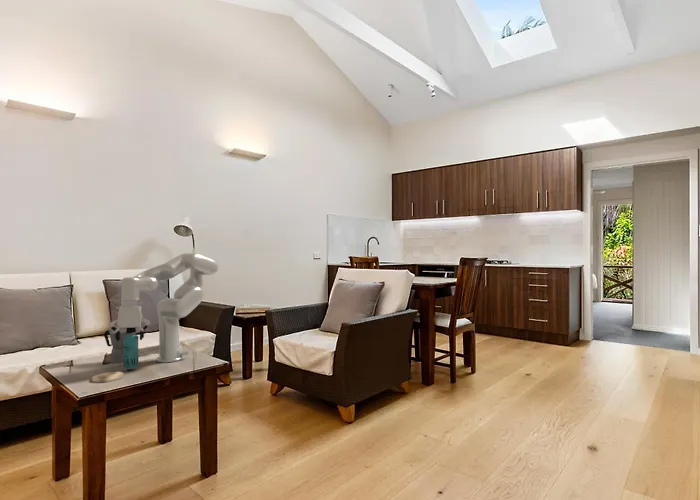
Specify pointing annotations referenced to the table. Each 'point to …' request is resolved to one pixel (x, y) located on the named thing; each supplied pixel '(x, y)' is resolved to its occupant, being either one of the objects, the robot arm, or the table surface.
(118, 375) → the disc
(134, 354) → the beverage bottle
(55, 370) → the table surface
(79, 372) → the table surface
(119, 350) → the coffeepot
